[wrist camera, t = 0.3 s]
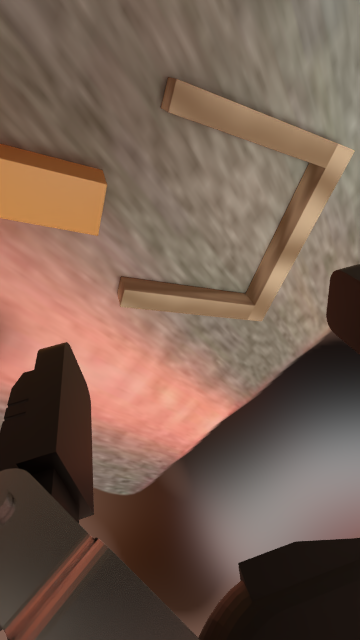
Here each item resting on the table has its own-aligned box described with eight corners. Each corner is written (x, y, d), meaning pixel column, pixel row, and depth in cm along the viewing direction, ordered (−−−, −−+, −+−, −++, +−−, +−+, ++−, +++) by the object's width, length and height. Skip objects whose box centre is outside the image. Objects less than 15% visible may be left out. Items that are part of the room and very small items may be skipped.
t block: (-85, 50, 20) (-112, 49, 17) (111, 115, 25) (117, 123, 22) (-66, 233, 26) (-83, 256, 23) (87, 257, 31) (90, 279, 28)
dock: (168, 77, 24) (176, 79, 22) (337, 144, 31) (354, 150, 29) (117, 293, 34) (120, 306, 32) (252, 308, 41) (261, 321, 39)
